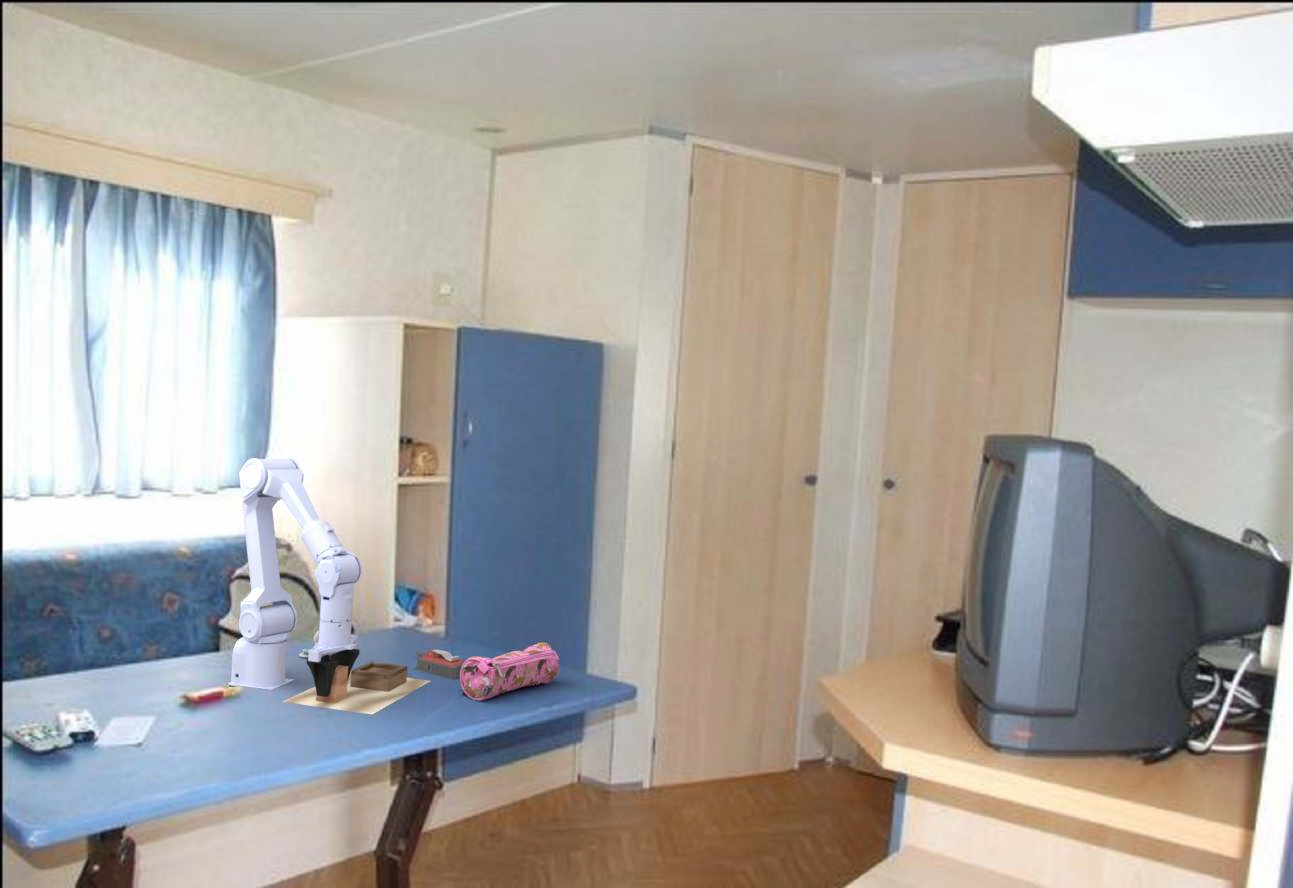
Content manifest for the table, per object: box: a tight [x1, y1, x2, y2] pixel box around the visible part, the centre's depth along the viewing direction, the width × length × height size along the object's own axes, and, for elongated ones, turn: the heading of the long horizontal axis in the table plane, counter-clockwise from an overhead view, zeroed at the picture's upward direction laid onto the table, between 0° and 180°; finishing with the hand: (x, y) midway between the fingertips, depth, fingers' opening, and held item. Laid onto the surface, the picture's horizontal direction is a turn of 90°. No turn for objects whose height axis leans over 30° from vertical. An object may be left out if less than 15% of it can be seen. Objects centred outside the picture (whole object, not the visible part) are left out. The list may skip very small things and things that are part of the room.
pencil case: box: [459, 642, 560, 702], centre depth 206 cm, size 21×9×9 cm, turn 143°
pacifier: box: [298, 630, 319, 659], centre depth 223 cm, size 7×6×6 cm
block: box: [316, 665, 348, 703], centre depth 190 cm, size 4×4×6 cm
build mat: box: [282, 661, 432, 715], centre depth 197 cm, size 18×25×4 cm
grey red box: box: [415, 648, 466, 680], centre depth 220 cm, size 9×4×20 cm
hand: (331, 691), depth 190 cm, fingers open, 5 cm apart
